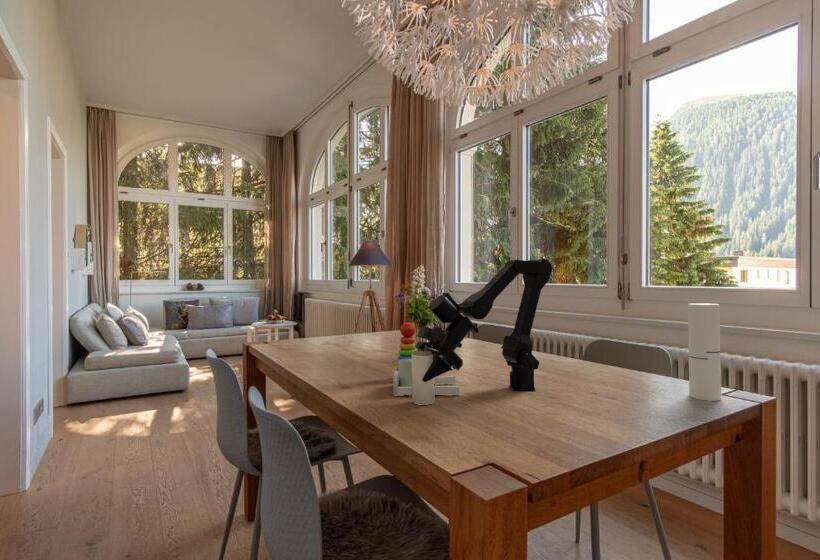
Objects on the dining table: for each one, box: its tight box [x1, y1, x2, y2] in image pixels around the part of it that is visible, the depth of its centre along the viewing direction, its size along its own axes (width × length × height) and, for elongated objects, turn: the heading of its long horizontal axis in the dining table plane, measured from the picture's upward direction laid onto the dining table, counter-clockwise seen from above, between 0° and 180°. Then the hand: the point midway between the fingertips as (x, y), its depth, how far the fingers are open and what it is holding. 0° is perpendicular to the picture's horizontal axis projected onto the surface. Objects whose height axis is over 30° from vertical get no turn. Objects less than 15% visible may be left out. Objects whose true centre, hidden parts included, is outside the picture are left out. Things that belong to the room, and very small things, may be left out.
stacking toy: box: [395, 321, 417, 377], centre depth 148 cm, size 8×8×19 cm
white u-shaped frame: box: [392, 370, 461, 396], centre depth 133 cm, size 19×15×4 cm
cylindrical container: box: [687, 302, 722, 402], centre depth 120 cm, size 7×7×25 cm
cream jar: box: [411, 349, 436, 405], centre depth 120 cm, size 6×6×14 cm
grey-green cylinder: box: [397, 359, 412, 387], centre depth 133 cm, size 6×6×9 cm
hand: (418, 378), depth 119 cm, fingers closed on cream jar, 6 cm apart
